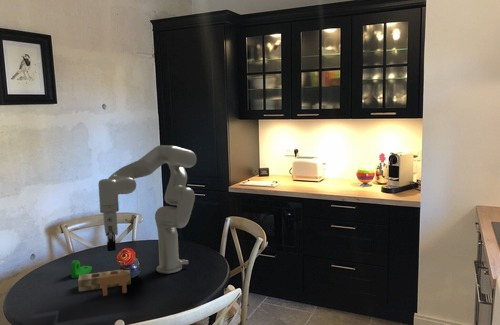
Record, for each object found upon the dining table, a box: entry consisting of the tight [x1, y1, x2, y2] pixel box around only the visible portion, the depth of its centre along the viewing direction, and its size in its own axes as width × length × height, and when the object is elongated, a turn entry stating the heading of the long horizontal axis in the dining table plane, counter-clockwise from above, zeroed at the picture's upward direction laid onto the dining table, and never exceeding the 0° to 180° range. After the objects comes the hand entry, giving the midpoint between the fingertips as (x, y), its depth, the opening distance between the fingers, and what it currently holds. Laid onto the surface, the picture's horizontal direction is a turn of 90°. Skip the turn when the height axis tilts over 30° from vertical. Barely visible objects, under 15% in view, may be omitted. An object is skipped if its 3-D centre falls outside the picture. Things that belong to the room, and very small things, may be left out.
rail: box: [77, 268, 132, 292], centre depth 188 cm, size 22×7×5 cm, turn 108°
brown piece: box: [99, 272, 128, 297], centre depth 179 cm, size 12×3×8 cm, turn 108°
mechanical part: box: [70, 259, 93, 279], centre depth 203 cm, size 12×6×8 cm, turn 179°
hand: (111, 247), depth 177 cm, fingers open, 9 cm apart
